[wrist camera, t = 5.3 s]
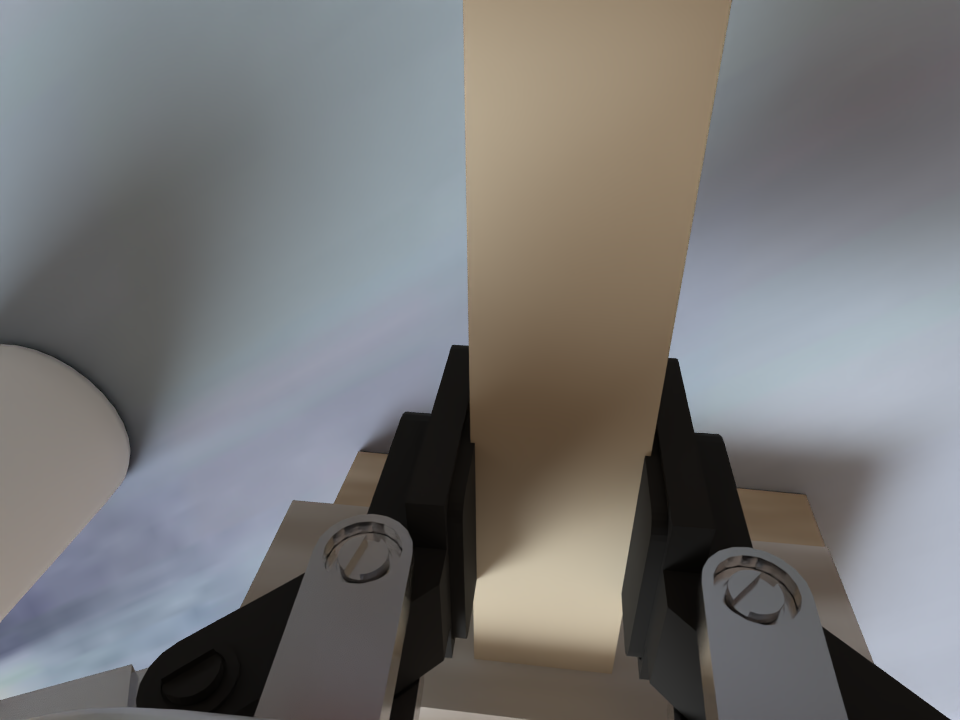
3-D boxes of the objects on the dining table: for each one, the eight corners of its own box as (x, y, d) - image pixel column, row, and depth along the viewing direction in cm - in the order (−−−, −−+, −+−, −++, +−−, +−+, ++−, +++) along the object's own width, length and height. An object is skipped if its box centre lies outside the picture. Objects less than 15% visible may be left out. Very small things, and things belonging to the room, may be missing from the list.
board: (358, 451, 25) (331, 507, 23) (805, 494, 23) (831, 561, 21) (386, 676, 33) (368, 737, 30) (727, 724, 30) (739, 794, 28)
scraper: (171, -48, 10) (-83, -28, 6) (1072, -49, 8) (1466, -25, 5) (302, 544, 17) (222, 725, 13) (809, 592, 15) (883, 809, 12)
